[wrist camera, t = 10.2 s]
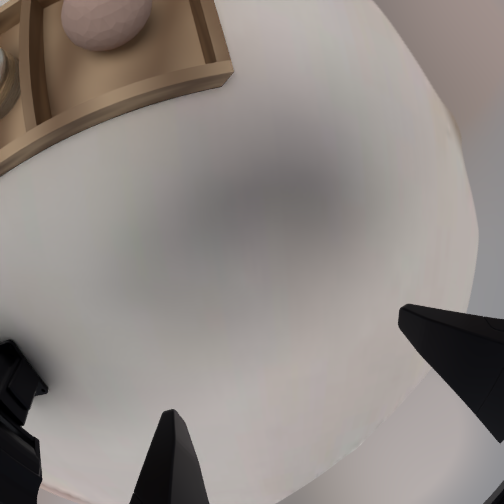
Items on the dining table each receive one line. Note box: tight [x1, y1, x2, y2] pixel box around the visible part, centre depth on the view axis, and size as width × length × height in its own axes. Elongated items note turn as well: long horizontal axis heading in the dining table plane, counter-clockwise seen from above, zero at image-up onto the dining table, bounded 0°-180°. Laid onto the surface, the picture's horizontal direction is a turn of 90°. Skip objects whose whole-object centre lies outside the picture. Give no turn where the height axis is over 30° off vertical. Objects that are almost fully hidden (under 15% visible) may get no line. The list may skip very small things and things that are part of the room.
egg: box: [61, 0, 152, 51], centre depth 9 cm, size 5×5×7 cm
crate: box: [0, 0, 234, 177], centre depth 10 cm, size 20×13×4 cm, turn 104°
